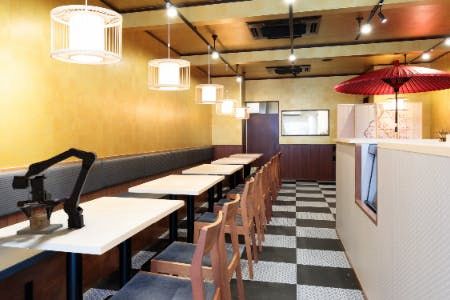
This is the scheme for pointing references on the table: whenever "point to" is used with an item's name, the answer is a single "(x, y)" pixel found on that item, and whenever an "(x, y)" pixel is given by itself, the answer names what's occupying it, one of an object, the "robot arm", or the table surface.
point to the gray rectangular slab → (40, 231)
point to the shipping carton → (39, 221)
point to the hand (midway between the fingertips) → (39, 220)
